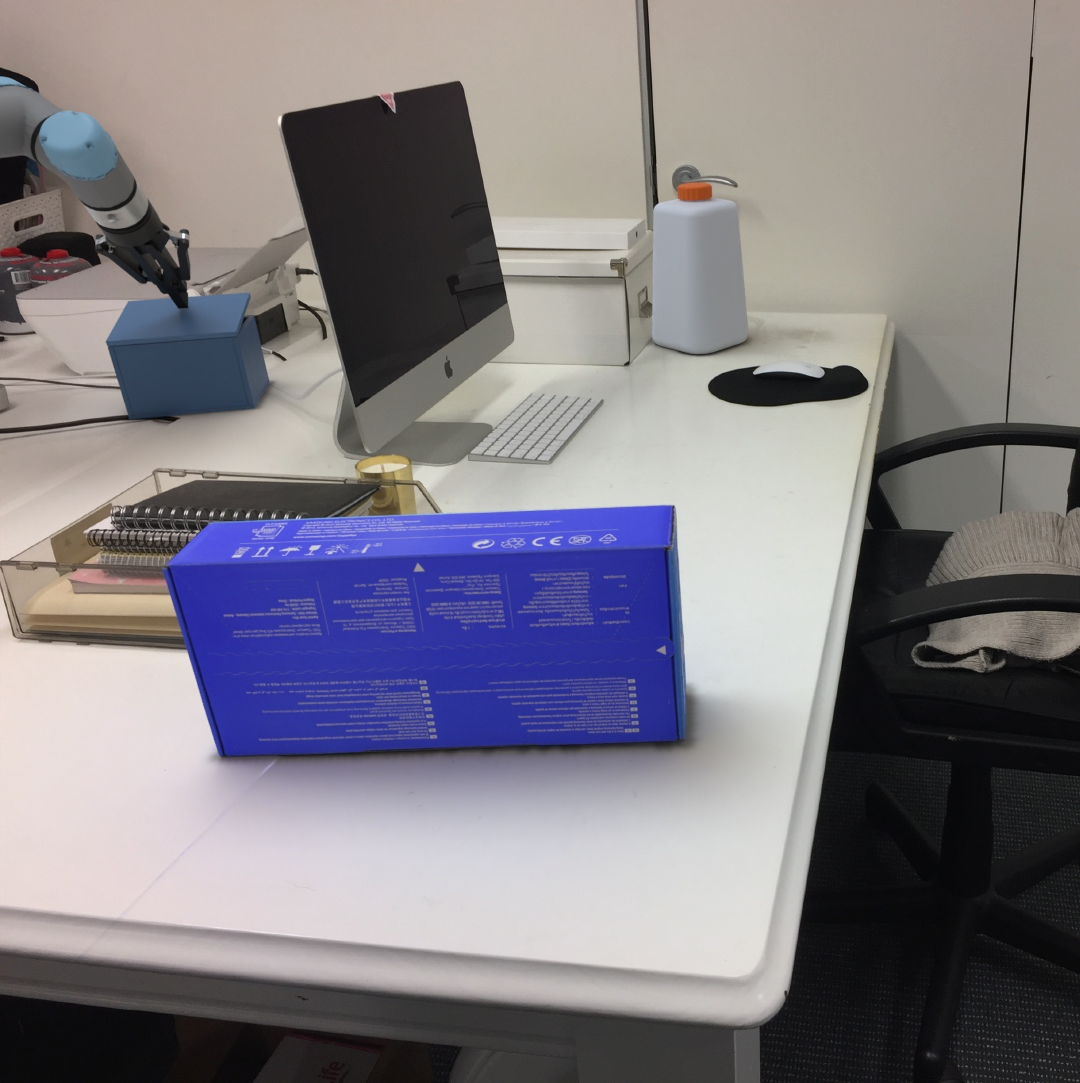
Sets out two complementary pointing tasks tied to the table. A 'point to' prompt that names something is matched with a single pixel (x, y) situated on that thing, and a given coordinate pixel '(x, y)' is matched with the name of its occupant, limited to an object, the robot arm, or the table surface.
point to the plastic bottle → (697, 273)
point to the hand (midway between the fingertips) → (183, 301)
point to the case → (192, 374)
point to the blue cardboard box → (435, 630)
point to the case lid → (179, 319)
